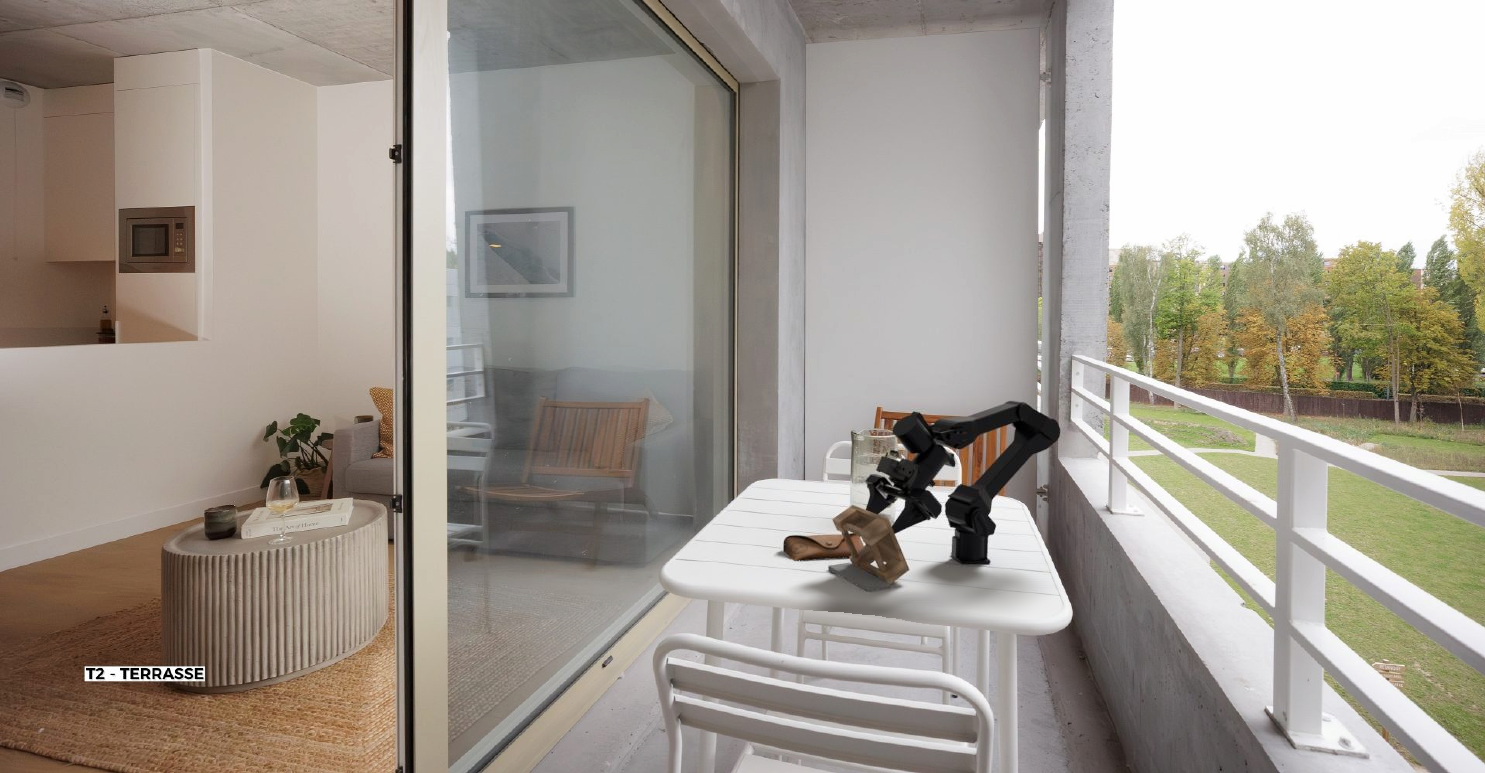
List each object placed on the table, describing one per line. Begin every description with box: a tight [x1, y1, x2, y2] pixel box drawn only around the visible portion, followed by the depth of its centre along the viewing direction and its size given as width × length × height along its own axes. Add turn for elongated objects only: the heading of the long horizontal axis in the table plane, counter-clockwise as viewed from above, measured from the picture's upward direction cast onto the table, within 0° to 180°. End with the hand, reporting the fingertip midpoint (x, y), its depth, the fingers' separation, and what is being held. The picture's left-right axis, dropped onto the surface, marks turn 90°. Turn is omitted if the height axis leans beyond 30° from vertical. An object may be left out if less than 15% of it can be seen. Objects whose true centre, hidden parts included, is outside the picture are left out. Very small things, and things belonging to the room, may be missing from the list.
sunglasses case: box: [782, 532, 865, 562], centre depth 170 cm, size 18×7×7 cm, turn 102°
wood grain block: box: [831, 504, 910, 585], centre depth 154 cm, size 6×12×12 cm, turn 24°
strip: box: [827, 562, 891, 592], centre depth 153 cm, size 5×14×1 cm, turn 26°
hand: (877, 527), depth 154 cm, fingers open, 9 cm apart
